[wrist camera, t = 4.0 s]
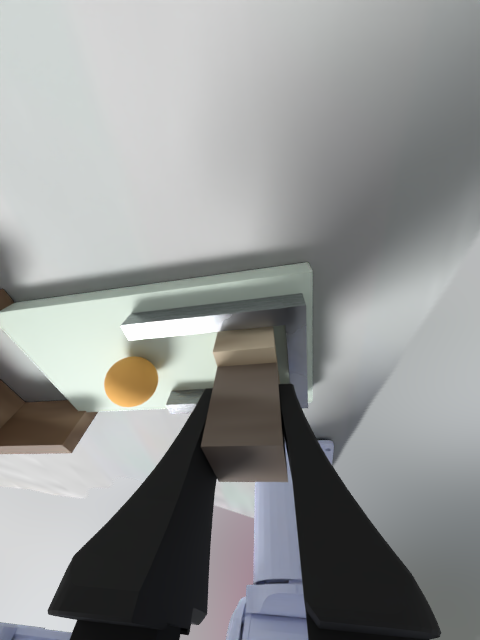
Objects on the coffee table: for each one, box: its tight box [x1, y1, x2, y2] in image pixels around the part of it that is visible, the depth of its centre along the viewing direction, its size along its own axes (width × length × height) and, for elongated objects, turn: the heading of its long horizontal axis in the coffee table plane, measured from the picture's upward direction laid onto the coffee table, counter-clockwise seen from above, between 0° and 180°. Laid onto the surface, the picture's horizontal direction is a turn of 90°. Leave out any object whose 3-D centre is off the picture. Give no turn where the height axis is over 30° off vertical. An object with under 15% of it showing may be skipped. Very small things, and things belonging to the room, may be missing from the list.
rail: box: [121, 293, 308, 414], centre depth 14 cm, size 8×10×1 cm
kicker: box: [201, 326, 288, 482], centre depth 12 cm, size 5×3×6 cm, turn 10°
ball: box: [104, 356, 158, 407], centre depth 14 cm, size 3×3×3 cm
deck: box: [0, 262, 313, 412], centre depth 16 cm, size 10×19×1 cm, turn 100°
